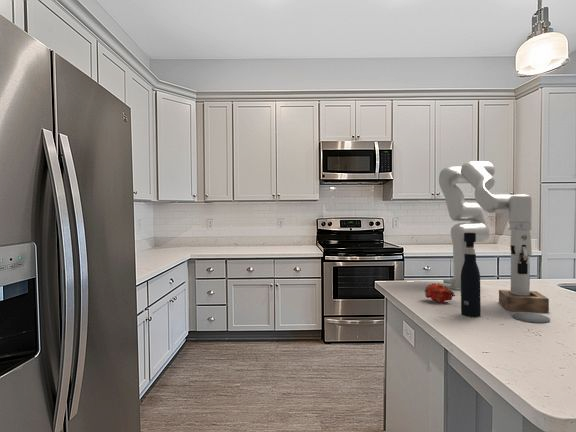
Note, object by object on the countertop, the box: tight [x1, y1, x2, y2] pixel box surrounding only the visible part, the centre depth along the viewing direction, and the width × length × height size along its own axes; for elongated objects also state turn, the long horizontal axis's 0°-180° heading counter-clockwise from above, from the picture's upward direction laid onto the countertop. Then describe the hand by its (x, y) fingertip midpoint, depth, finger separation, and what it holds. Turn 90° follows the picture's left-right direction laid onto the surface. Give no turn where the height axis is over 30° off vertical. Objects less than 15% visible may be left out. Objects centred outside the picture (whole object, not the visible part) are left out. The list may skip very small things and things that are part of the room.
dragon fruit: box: [424, 282, 456, 304], centre depth 151 cm, size 8×8×12 cm
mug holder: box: [498, 289, 550, 313], centre depth 142 cm, size 13×13×5 cm
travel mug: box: [510, 245, 531, 296], centre depth 142 cm, size 6×7×20 cm
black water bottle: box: [460, 233, 482, 318], centre depth 133 cm, size 6×6×30 cm
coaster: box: [511, 311, 551, 324], centre depth 127 cm, size 11×11×1 cm
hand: (519, 271), depth 142 cm, fingers closed on travel mug, 6 cm apart
